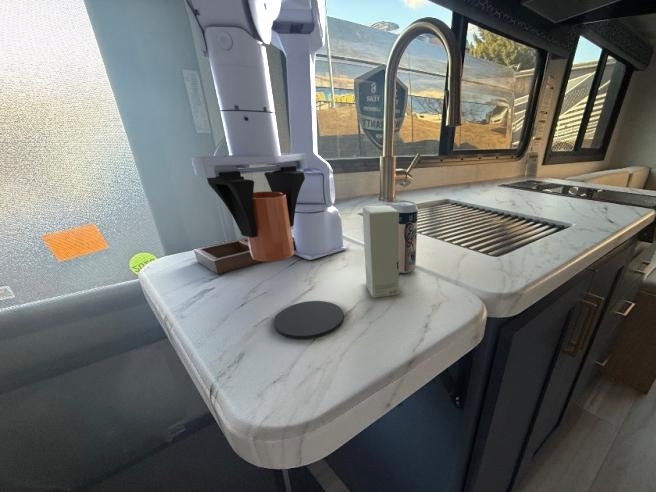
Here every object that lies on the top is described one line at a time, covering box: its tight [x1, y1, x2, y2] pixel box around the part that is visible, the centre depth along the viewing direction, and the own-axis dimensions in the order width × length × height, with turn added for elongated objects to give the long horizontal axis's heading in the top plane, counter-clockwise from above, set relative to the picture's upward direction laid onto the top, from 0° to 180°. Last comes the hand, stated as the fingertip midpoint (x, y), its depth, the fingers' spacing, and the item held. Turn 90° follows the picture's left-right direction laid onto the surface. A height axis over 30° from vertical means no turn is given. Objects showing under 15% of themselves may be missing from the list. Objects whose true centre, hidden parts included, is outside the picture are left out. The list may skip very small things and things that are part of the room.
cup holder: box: [193, 236, 296, 275], centre depth 62 cm, size 9×17×2 cm, turn 140°
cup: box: [246, 190, 295, 262], centre depth 42 cm, size 6×6×8 cm
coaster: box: [273, 300, 345, 340], centre depth 42 cm, size 9×9×1 cm
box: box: [362, 205, 400, 298], centre depth 47 cm, size 5×4×13 cm
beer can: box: [390, 200, 419, 274], centre depth 55 cm, size 5×5×12 cm
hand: (269, 230), depth 42 cm, fingers closed on cup, 5 cm apart
